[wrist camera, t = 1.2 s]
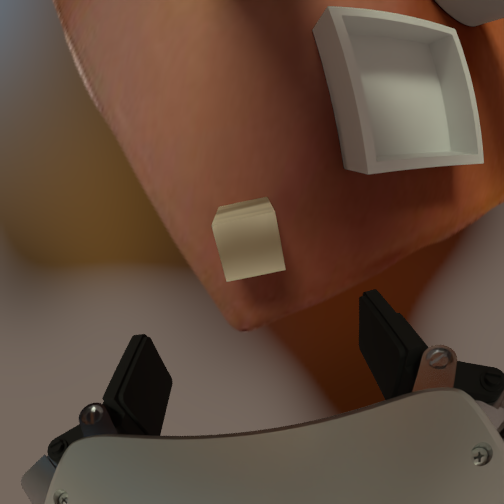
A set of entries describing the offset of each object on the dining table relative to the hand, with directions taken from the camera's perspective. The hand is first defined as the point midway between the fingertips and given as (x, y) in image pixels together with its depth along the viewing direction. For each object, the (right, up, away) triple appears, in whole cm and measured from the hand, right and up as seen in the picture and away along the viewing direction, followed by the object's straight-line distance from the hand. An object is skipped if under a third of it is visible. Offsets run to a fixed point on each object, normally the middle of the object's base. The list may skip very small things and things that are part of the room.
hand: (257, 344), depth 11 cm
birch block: (-1, +7, +17) cm, 19 cm away
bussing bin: (+15, +21, +12) cm, 29 cm away
